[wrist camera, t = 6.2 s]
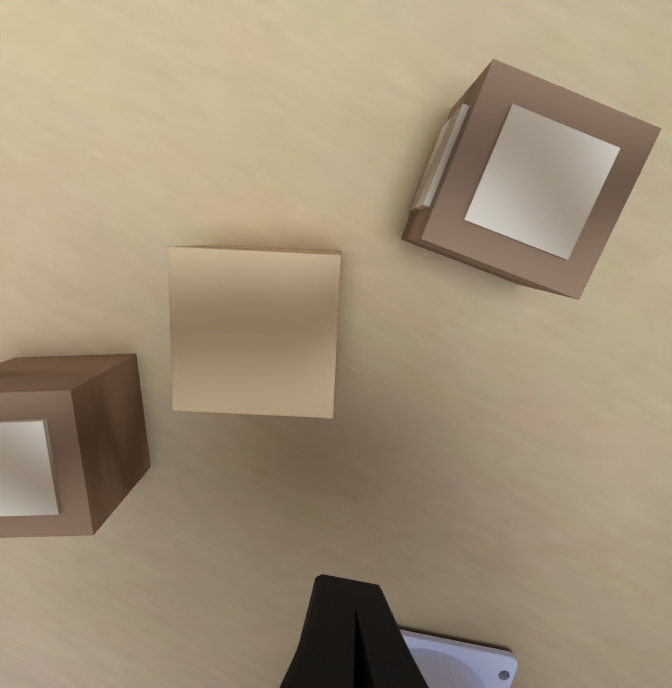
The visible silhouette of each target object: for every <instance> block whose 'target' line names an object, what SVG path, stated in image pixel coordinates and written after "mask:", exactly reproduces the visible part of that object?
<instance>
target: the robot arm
mask: <svg viewBox="0 0 672 688" xmlns="http://www.w3.org/2000/svg"><path fill="white" fill-rule="evenodd" d="M517 667H518V663H517V660H516V658H515V656H514V654H512V653H511V652H509V651H504V650H499V649H495V648H490V647H485V646H480V645H475V644H470V643H465V642H460V641H455V640H450V639H445V638H440V637H435V636H430V635H425V634H420V633H415V632H410V631H405V630H400V629H399V627H398V625H397V623H396V621H395V619H394V616H393V614H392V612H391V610H390V608H389V605H388V603H387V601H386V598H385V596H384V594H383V591H382V590H381V588H380V586H379V585H376V584H371V583H366V582H360V581H355V580H350V579H345V578H340V577H334V576H329V575H324V574H321V575H320V576H318V577H316V578H315V582H314V586H313V590H312V594H311V598H310V602H309V606H308V610H307V614H306V618H305V622H304V626H303V630H302V634H301V638H300V642H299V645H298V648H297V650H296V653H295V655H294V658H293V660H292V662H291V664H290V666H289V669H288V671H287V673H286V675H285V677H284V679H283V681H282V684H281V686H280V688H510V687H511V684H512V681H513V679H514V676H515V673H516V670H517ZM501 671H505V672H503V673H500V672H501Z"/></svg>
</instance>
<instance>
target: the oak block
mask: <svg viewBox="0 0 672 688" xmlns="http://www.w3.org/2000/svg"><path fill="white" fill-rule="evenodd" d="M168 250H169V290H170V331H171V372H172V411H193V412H214V413H234V414H255V415H276V416H296V417H317V418H333V407H334V387H335V366H336V346H337V325H338V305H339V284H340V264H341V251H323V250H303V249H282V248H262V247H241V246H220V245H202V246H176V247H168Z"/></svg>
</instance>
